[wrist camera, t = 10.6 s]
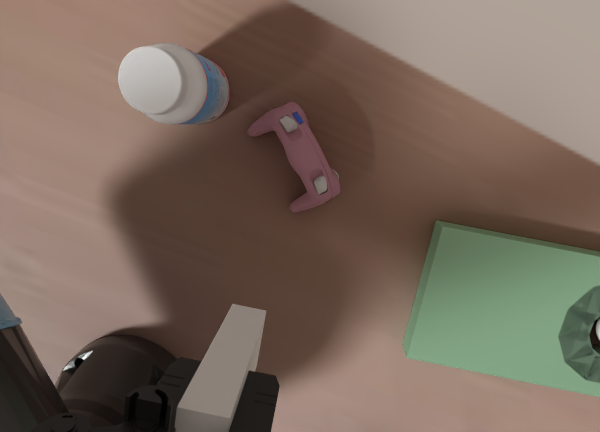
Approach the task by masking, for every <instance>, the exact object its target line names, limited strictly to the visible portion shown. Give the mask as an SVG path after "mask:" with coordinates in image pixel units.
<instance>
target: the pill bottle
mask: <svg viewBox="0 0 600 432" xmlns="http://www.w3.org/2000/svg"><path fill="white" fill-rule="evenodd" d="M118 82H119V87H120V90H121V93H122V95H123V97H124V98H125V100H126V101H127V102H128V103H129V104H130V105H131V106H132V107H133V108H135V109H136V110H138V111H140V112H143V113H144V114H145V115H146V116H148V117H149V118H151V119H153V120H155V121H157V122H160V123H164V124H204V123H209V122H211V121H214V120H215V119H217V118H218V117H219V116H221V114H222V113H223V112H224V111H225V109H226V107H227V104H228V101H229V84H228V80H227V77H226V75H225V73H224V72H223V70H222V69H221V68H220V67H219V66H218V65H217V64H216V63H214V62H213V61H211V60H209V59H207V58H205V57H203V56H201V55H199V54H196V53H194V52H192V51H190V50H188V49H186V48H184V47H181V46H179V45H176V44H171V43H159V44H155V45H152V46H142V47H138V48H136V49H134V50H132V51H131V52H130V53H128V54H127V55H126V56H125V58H124V59H123V61H122V63H121V65H120V68H119V73H118Z"/></svg>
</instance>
